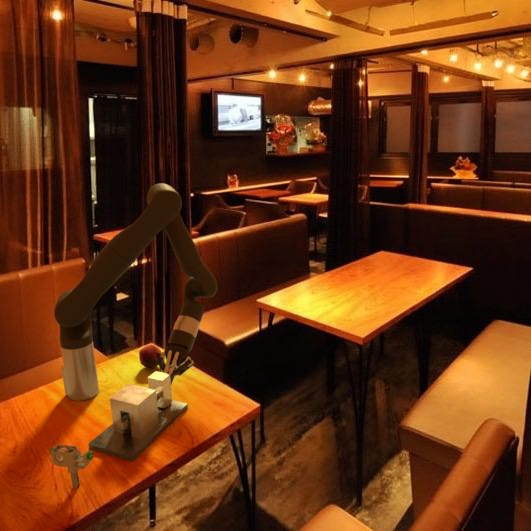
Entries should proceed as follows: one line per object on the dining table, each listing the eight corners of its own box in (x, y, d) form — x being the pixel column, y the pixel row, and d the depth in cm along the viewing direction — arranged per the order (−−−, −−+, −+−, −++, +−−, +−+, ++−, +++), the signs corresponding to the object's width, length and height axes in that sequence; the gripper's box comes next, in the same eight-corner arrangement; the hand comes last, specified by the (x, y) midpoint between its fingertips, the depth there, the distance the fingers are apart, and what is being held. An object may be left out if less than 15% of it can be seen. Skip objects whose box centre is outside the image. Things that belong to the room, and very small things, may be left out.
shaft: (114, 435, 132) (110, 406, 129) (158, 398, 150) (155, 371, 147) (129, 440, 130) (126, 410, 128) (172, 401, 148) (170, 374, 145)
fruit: (165, 362, 176) (163, 341, 174) (161, 372, 168) (159, 351, 166) (143, 362, 176) (141, 341, 174) (137, 373, 168) (135, 351, 166)
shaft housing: (88, 448, 130) (83, 410, 127) (148, 398, 153) (145, 364, 150) (132, 462, 125) (128, 422, 121) (187, 408, 148) (185, 373, 144)
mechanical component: (92, 493, 115) (87, 456, 112) (52, 487, 116) (46, 451, 114) (99, 484, 117) (94, 448, 114) (60, 479, 119) (54, 443, 116)
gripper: (161, 325, 155) (140, 379, 148) (198, 331, 150) (178, 387, 142) (171, 334, 161) (152, 386, 154) (207, 340, 156) (189, 395, 149)
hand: (164, 387), depth 148 cm, fingers closed
